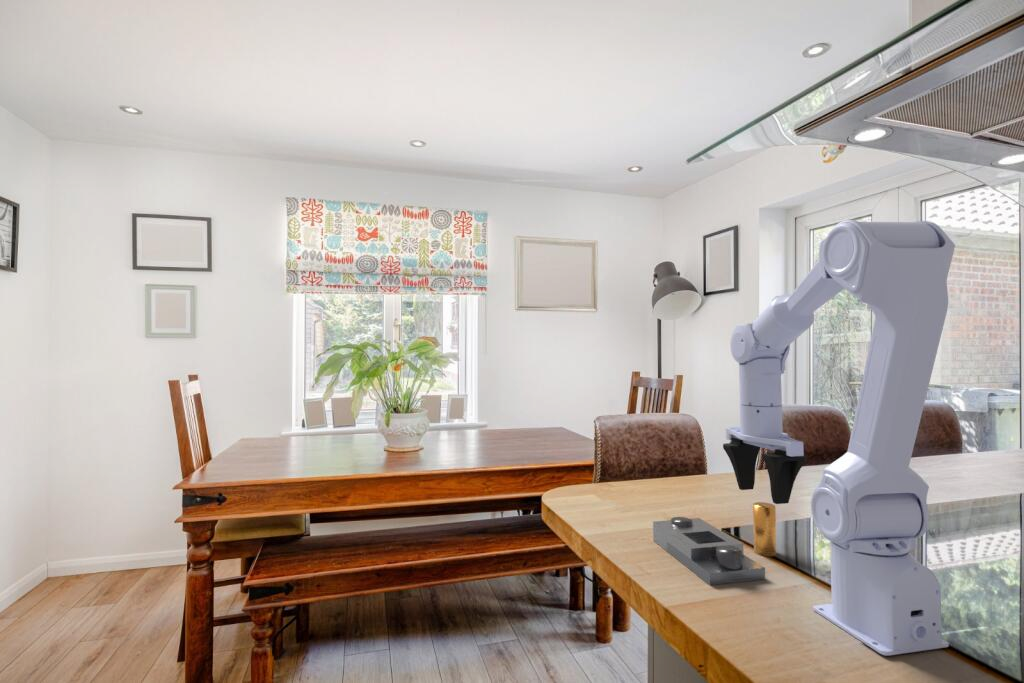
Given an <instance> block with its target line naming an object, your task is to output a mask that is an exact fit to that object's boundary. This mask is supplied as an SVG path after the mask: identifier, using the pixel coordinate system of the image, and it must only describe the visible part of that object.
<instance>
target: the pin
mask: <svg viewBox="0 0 1024 683" xmlns="http://www.w3.org/2000/svg"><path fill="white" fill-rule="evenodd" d="M752 510H753V511H752V512H753V513H752V514H753V515H752V517H753V518H752V519H753V520H752V521H753V523H752V524H753V553H755V554H757V555H760V556H764V557H774V556H777V521H776V518H777V516H776V515H777V514H776V504H774V503H769V502H763V501H762V502H761V501H758V502H753V503H752Z"/></svg>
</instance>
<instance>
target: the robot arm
mask: <svg viewBox="0 0 1024 683" xmlns="http://www.w3.org/2000/svg"><path fill="white" fill-rule="evenodd" d="M955 248H956V244H955V243H954V241H952V239H951V238H950V237H949V236H948V234H947V233H946V232H945V231H944V230H943V229H942V228H941V227H940V226H939V225H938V224H936V223H935V222H933V221H929V220H919V221H917V220H916V221H913V222H912V221H858V220H854V219H846V220H843V221H840V222H838V223H837V224H836V225H834V227H832V229H831V230H830V231H829V232H828V234H827V236H826V237H825V238H823V239H822V240H821V241H820V242H819V248H818V260H817V262H816V263H815V264H814V265H813V267H812V268H811V269H810V270H809V272H808V273H807V274H806V275H805V276H804V278H803V279H802V280H801V282H800V283H798V285H797V287H796V288H795V289H794V290H793V291H792V292H791V294H780V295H775V296H774V297H773V298H772V299H771V302H770V304H769V305H767V307H766V308H765V309H763V311H762V312H761V313H760V314H759V315H758V316H757V317H756V318H755V319H754V320H753V322H752V323H748V322H747V324H742V323H740V324H737V325H736V326H735V329H733V331H732V333H731V337H730V344H729V345H730V352H731V355H732V357H733V359H734V360H735V362H737V363H738V379H739V380H738V381H739V384H738V386H739V419H740V421H739V423H740V424H739V427H737V426H735V427H725V433H726V434H725V436H726V437H725V438H726V441H729V443H728V442H727V443H723V444H722V448H723V449H722V450H724V451H725V453H726V455H727V457H728V458H729V460H730V463H731V466H732V468H733V471H734V475H735V479H736V481H737V482H736V483H737V485H738V489H739V490H740V491H748V490H749V491H750V490H754V487H755V482H756V481H755V480H756V466H757V460H758V455H759V453H760V451H761V448H762V449H767V450H770V451H773V452H770V453H769V452H768V453H762V454H761V457H762V460H763V462H764V464H765V467H766V469H767V474H768V478H769V485H770V487H769V488H770V496H771V500H772V504H774V505H783V504H789V502H790V498H791V495H792V491H793V487H794V485H795V481H796V478H797V476H798V474H799V472H800V471H801V469H802V467H803V466H804V464H805V463H806V461H807V457H806V456H805V455H804V453H805V452H804V442H803V441H800V440H797V439H794V438H792V437H790V436H789V433H786V432H784V431H783V400H782V399H783V398H782V397H783V396H782V375H783V374H785V371H786V361H787V358H788V356H789V354H790V351H791V350H790V347H791V344H792V343H793V342H795V341H796V340H797V339H798V338H799V337H800V336H801V335H802V334H803V333H805V332H806V331H807V330H808V329H809V328H811V327H812V325H813V324H814V321H815V315H814V313H815V312H816V311H817V310H818V309H819V308H821V307H823V305H825V304H826V303H827V302H829V301H830V300H832V299H833V298H834V297H836V296H837V295H838V294H839V293H841V292H842V291H843V290H845V291H847V292H848V293H850V294H851V295H852V296H853V297H854V298H856V299H857V300H858V301H860V302H862V303H864V304H866V305H867V306H868V308H870V310H871V311H872V312H873V314H874V322H873V327H872V332H871V336H870V342H869V345H868V346H869V347H868V351H867V356H866V360H865V365H864V369H863V375H862V379H861V383H860V384H861V385H860V390H859V393H858V394H859V395H858V400H857V404H856V409H855V413H854V417H853V423H852V428H851V432H850V437H849V442H848V448H847V451H846V452H845V453H844V454H843V455H841V456H840V457H839V458H836V460H835V461H832V463H830V464H829V465H828V466H826V467H825V468H824V469H823V472H822V476H821V479H820V481H819V484H818V485H817V486H816V487H815V488H814V490H813V492H812V495H811V500H810V513H811V516H812V519H813V522H814V523H815V525H816V527H817V528H818V529H819V531H820V533H821V534H822V535H823V538H824V539H826V540H828V541H829V543H830V544H829V547H830V585H831V586H830V589H831V591H830V592H831V595H830V596H831V603H825V604H817V605H813V606H812V609H813V612H814V613H815V612H816V613H817V614H819V615H820V616H822V617H823V618H824V619H826V620H827V621H829V622H830V623H832V624H834V625H836V626H837V627H839V628H840V629H842V630H843V631H844V632H846V633H848V634H849V635H851V636H852V637H854V638H856V640H858V641H860V642H861V643H863V644H864V645H866V646H868V647H870V648H871V649H873V650H874V651H875V652H876V653H879V654H880V655H882V656H886V657H887V656H896V655H903V654H909V653H910V654H911V653H916V652H922V651H930V650H937V649H942V648H943V649H944V648H948V647H950V645H949V641H948V640H946V639H944V638H943V634H942V630H943V629H942V600H941V599H942V595H941V585H940V582H939V579H938V578H937V576H936V574H935V572H933V571H932V569H930V568H929V567H928V566H926V565H923V564H922V563H921V562H919V561H918V560H917V559H916V558H915V557H914V556H913V554H912V553H911V550H914V549H916V548H917V547H916V546H917V544H916V540H917V539H920V538H922V537H923V536H924V535H925V534H926V532H927V530H928V528H929V527H928V526H929V522H930V517H929V516H930V514H929V510H928V504H927V497H928V493H929V492H928V491H929V489H930V486H929V485H928V483H927V482H926V481H925V480H924V479H923V478H922V477H921V476H920V474H918V473H917V472H916V471H914V470H913V469H912V468H911V467H910V463H911V459H912V457H913V456H912V455H913V451H914V446H915V442H916V439H917V435H918V431H919V426H920V423H921V419H922V414H923V410H924V406H925V403H926V398H927V394H928V390H929V386H930V382H931V377H932V374H933V370H934V366H935V362H936V357H937V354H938V349H939V345H940V341H941V337H942V333H943V329H944V325H945V320H946V317H947V313H948V306H949V292H948V283H947V282H948V277H949V272H950V269H951V264H952V259H953V256H954V252H955Z"/></svg>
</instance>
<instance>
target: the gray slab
mask: <svg viewBox="0 0 1024 683" xmlns="http://www.w3.org/2000/svg"><path fill="white" fill-rule="evenodd" d="M652 532H653V534H652V535H653V536H652V537H653V540H652V541H653V542H655V543H656V544H657V545H658V546H660V547H661V548H662V549H663V550H665V551H666V552H667V553H669V554H670V555H671V556H672V557H673V558H674V559H676V560H677V561H678V562H680V563H681V564H682V565H683V566H685V567H686V568H687V569H689V570H690V571H691V572H692V573H694V574H696V576H698V577H699V578H700V579H702V580H703V581H704V582H705V583H707V584H708V585H709V586H716V585H725V584H731V583H732V584H735V583H742V582H743V583H744V582H750V581H751V582H752V581H761V580H762V581H763V580H766V568H765V566H763V565H761V564H760V563H758V562H756V561H754V560H753V559H751V558H750V557H748V556H747V555H745V554H744V543H743V542H741V541H739V540H737V539H736V538H734V537H733V536H730V535H729V534H727V533H726V532H724V531H722V530H720V529H719V528H716V527H715V526H713V525H711V523H708V522H706V521H705V520H703V519H701V518H700V517H696V518H695V517H694V518H689V517H684V516H675V517H672V518H670V520H667V519H666V520H656V521H655V520H654V521H652Z"/></svg>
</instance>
